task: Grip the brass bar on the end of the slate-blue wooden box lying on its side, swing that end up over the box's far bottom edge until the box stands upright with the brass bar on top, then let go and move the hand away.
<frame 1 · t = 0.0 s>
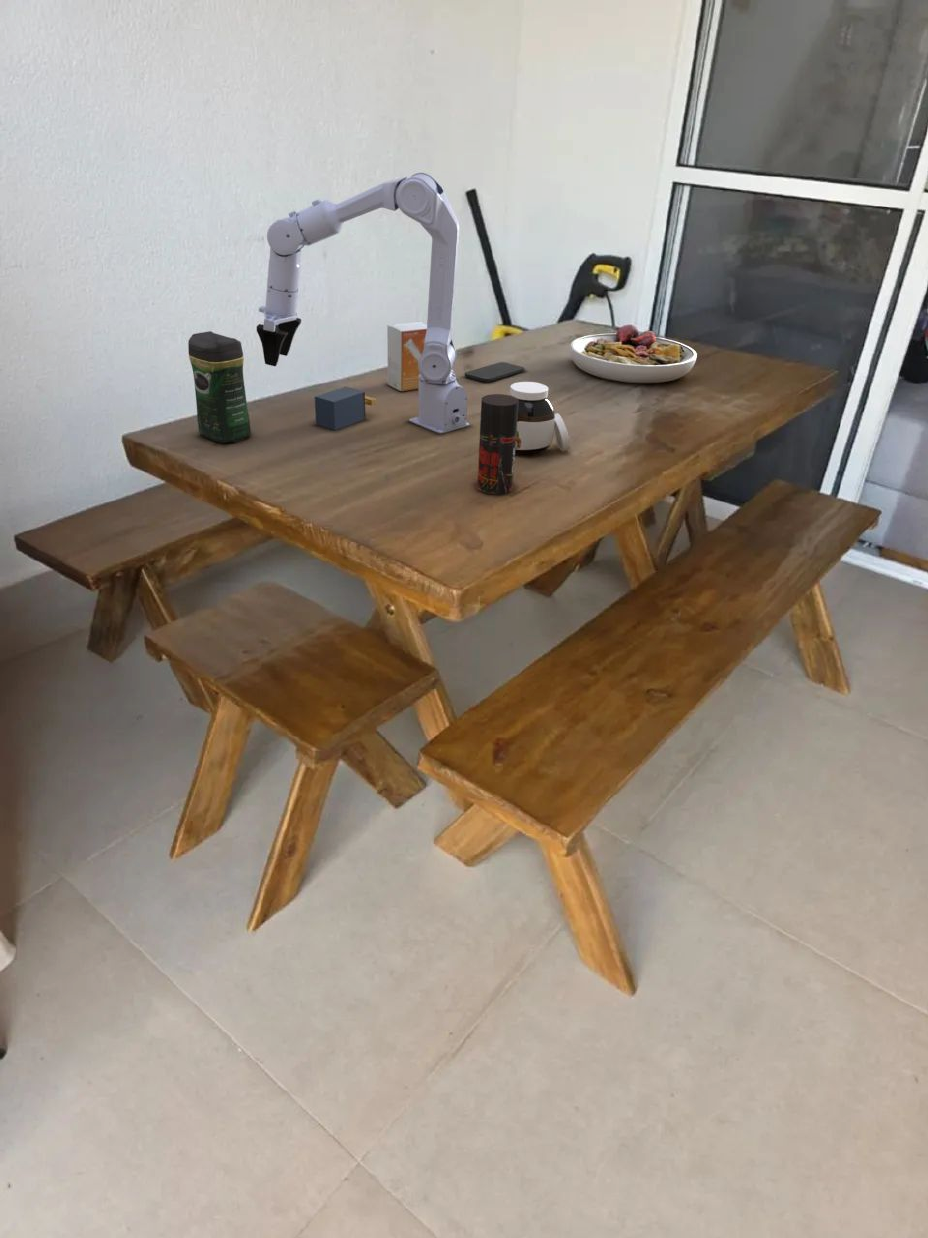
hand: (276, 359, 166), 11 cm above the table, tool pointing down, fingers open, 7 cm apart
spread jar: (535, 449, 160), on the table
box: (345, 406, 167), point 3 cm above the table, hinge at 0.0°
bowl: (630, 370, 208), on the table
small box: (409, 386, 190), on the table
deodorant: (494, 488, 143), on the table
coffee jar: (225, 436, 159), on the table
phone: (494, 374, 200), on the table
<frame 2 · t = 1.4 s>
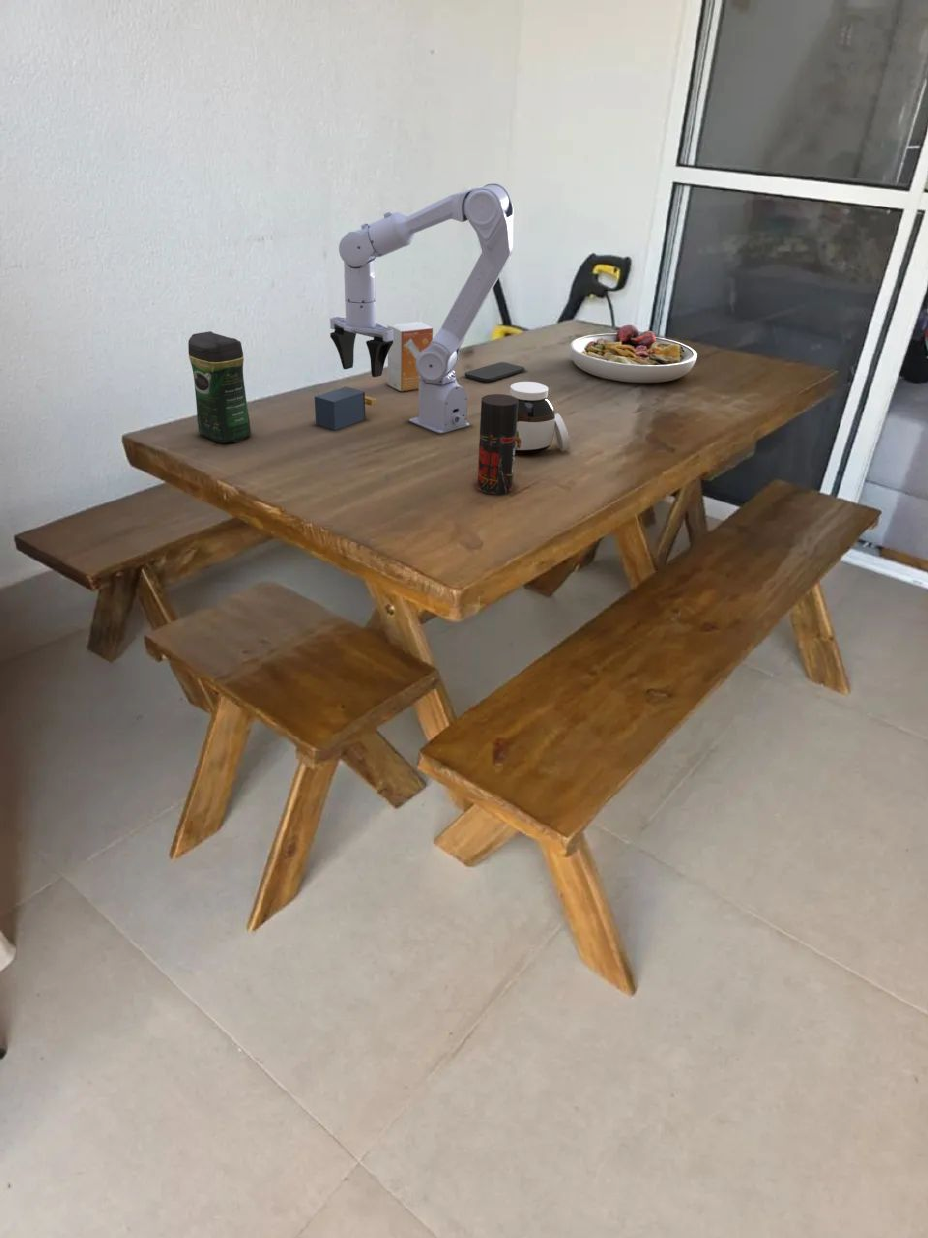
hand: (362, 371, 168), 9 cm above the table, tool pointing down, fingers open, 7 cm apart
nothing on the table moved.
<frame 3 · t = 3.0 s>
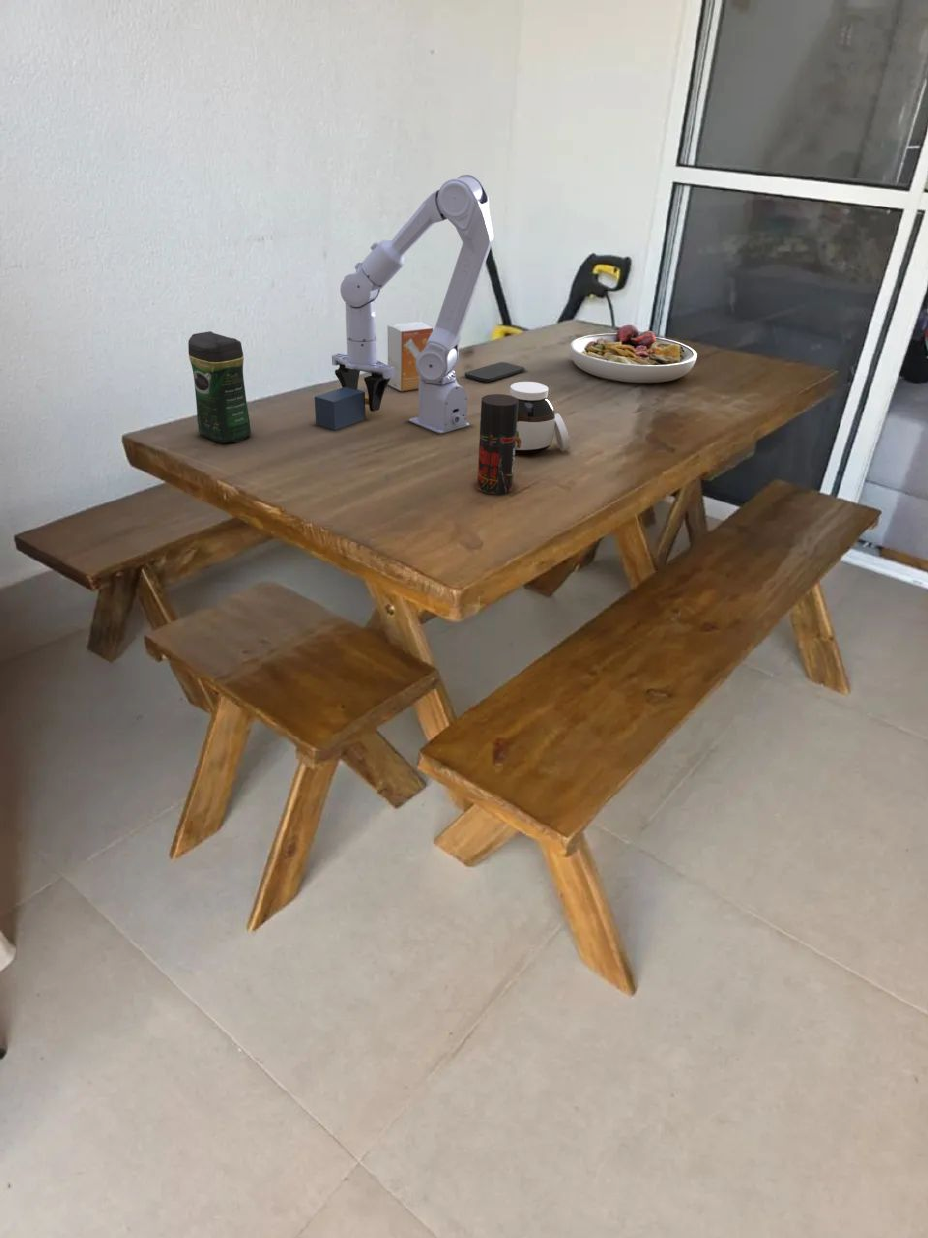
hand: (363, 407, 172), 2 cm above the table, tool pointing down, fingers closed on box, 5 cm apart
box: (345, 406, 167), point 3 cm above the table, hinge at 0.1°, touching gripper
everything else where it was.
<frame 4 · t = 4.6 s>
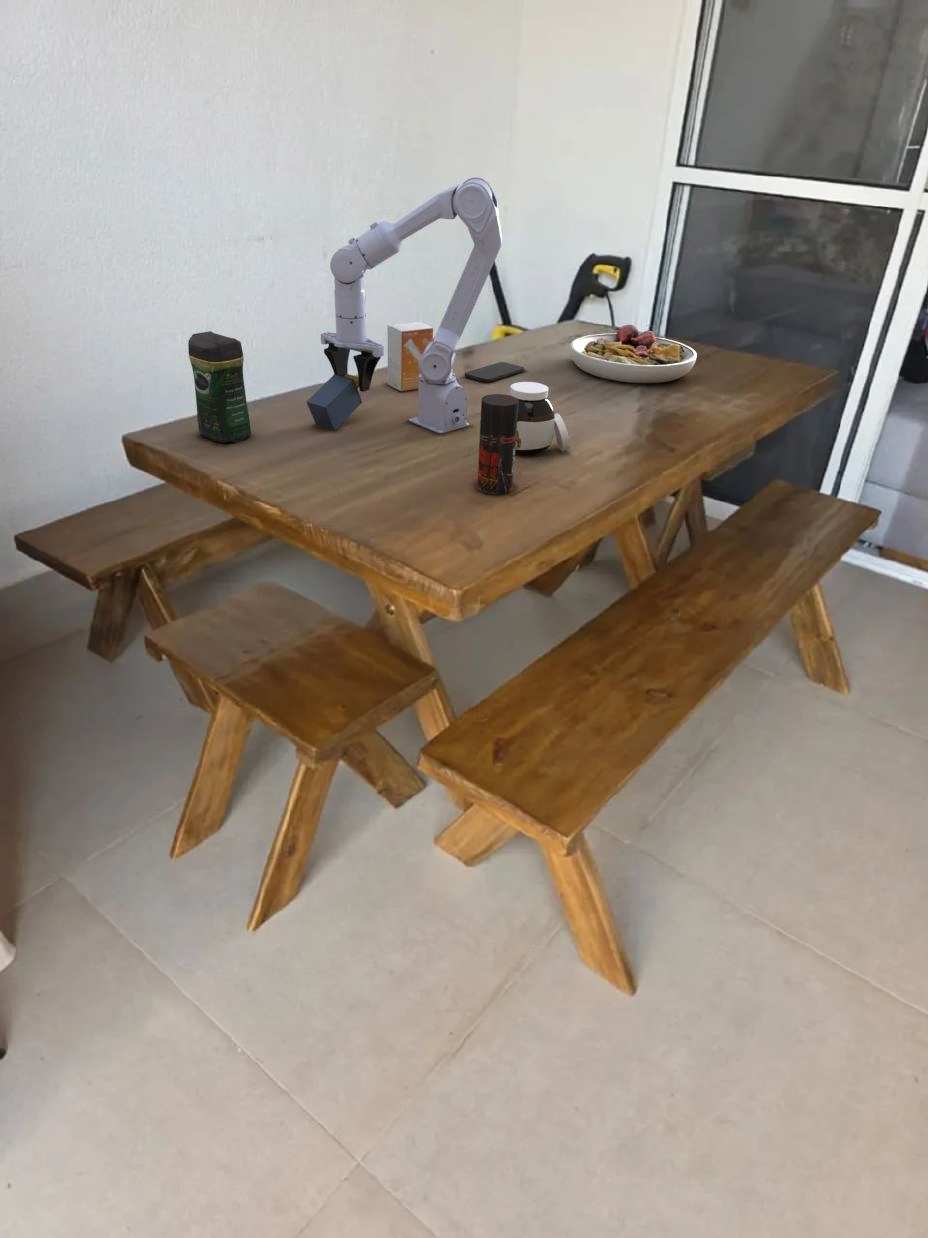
hand: (353, 387, 167), 6 cm above the table, tool pointing down, fingers closed on box, 5 cm apart
box: (339, 397, 165), point 5 cm above the table, hinge at 24.3°, touching gripper
everything else where it was.
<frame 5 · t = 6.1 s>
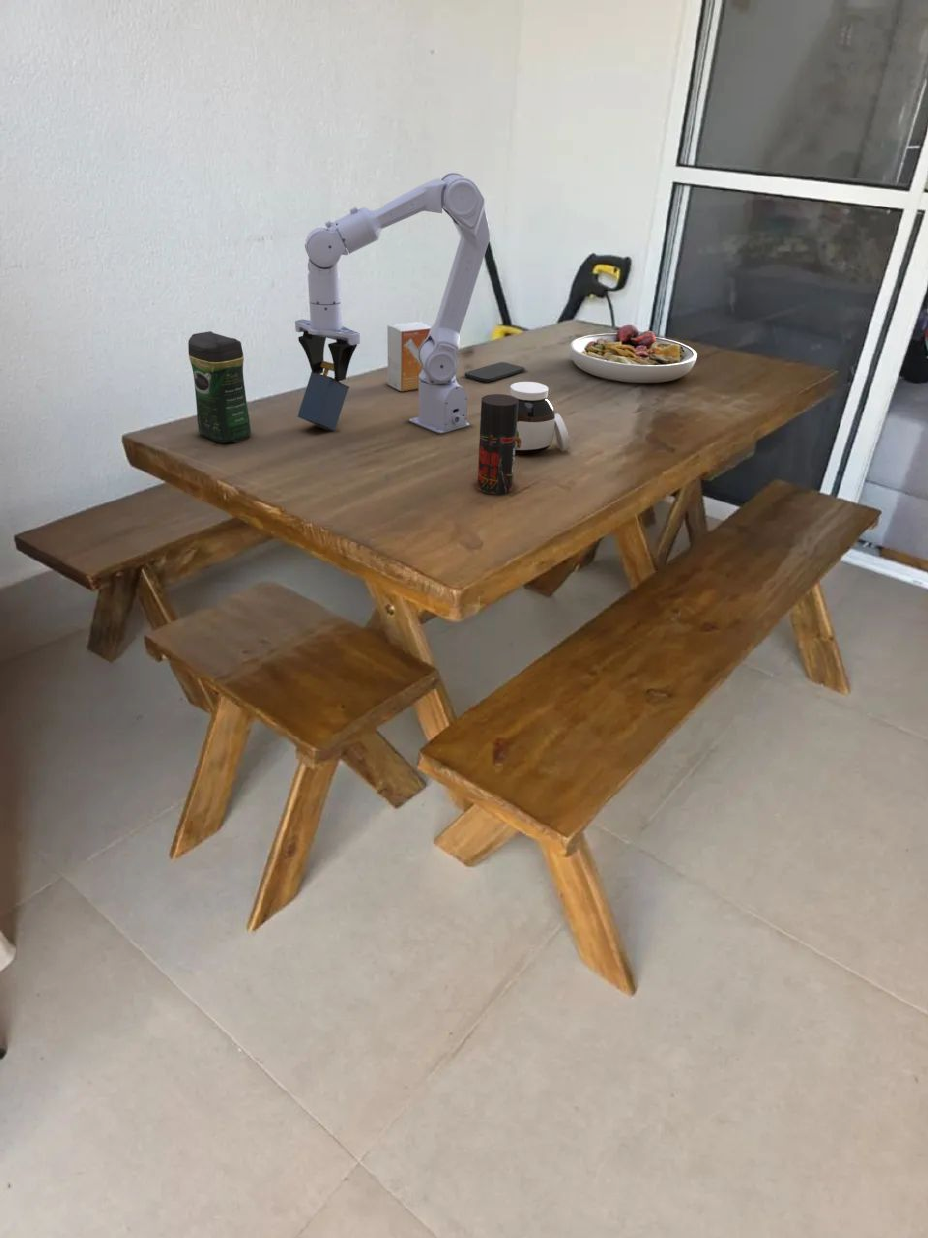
hand: (329, 376, 161), 10 cm above the table, tool pointing down, fingers closed on box, 5 cm apart
box: (325, 394, 162), point 7 cm above the table, hinge at 59.6°, touching gripper
everything else where it was.
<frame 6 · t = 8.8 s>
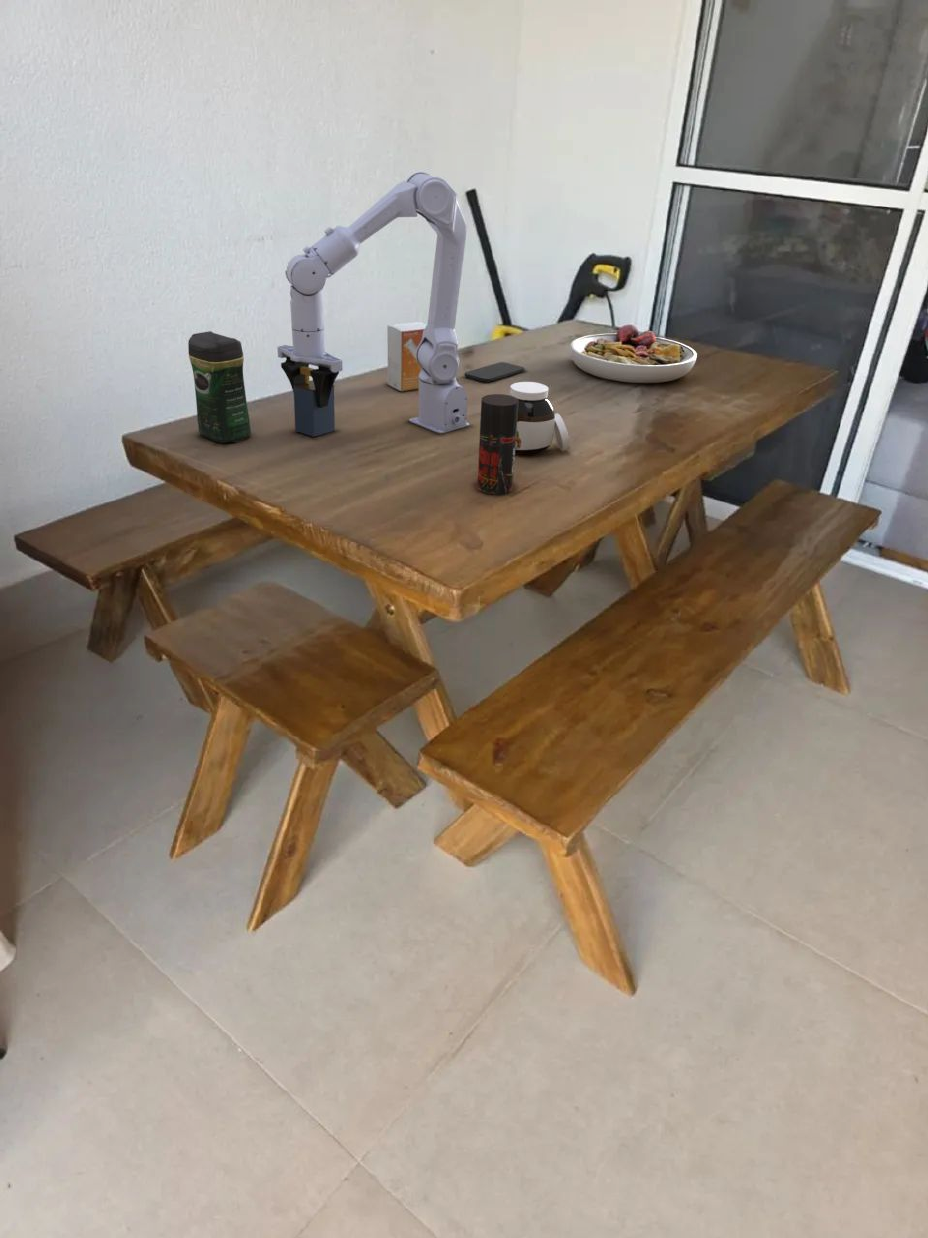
hand: (311, 402, 160), 6 cm above the table, tool pointing down, fingers closed on box, 5 cm apart
box: (314, 400, 160), point 6 cm above the table, hinge at 87.5°, touching gripper
everything else where it was.
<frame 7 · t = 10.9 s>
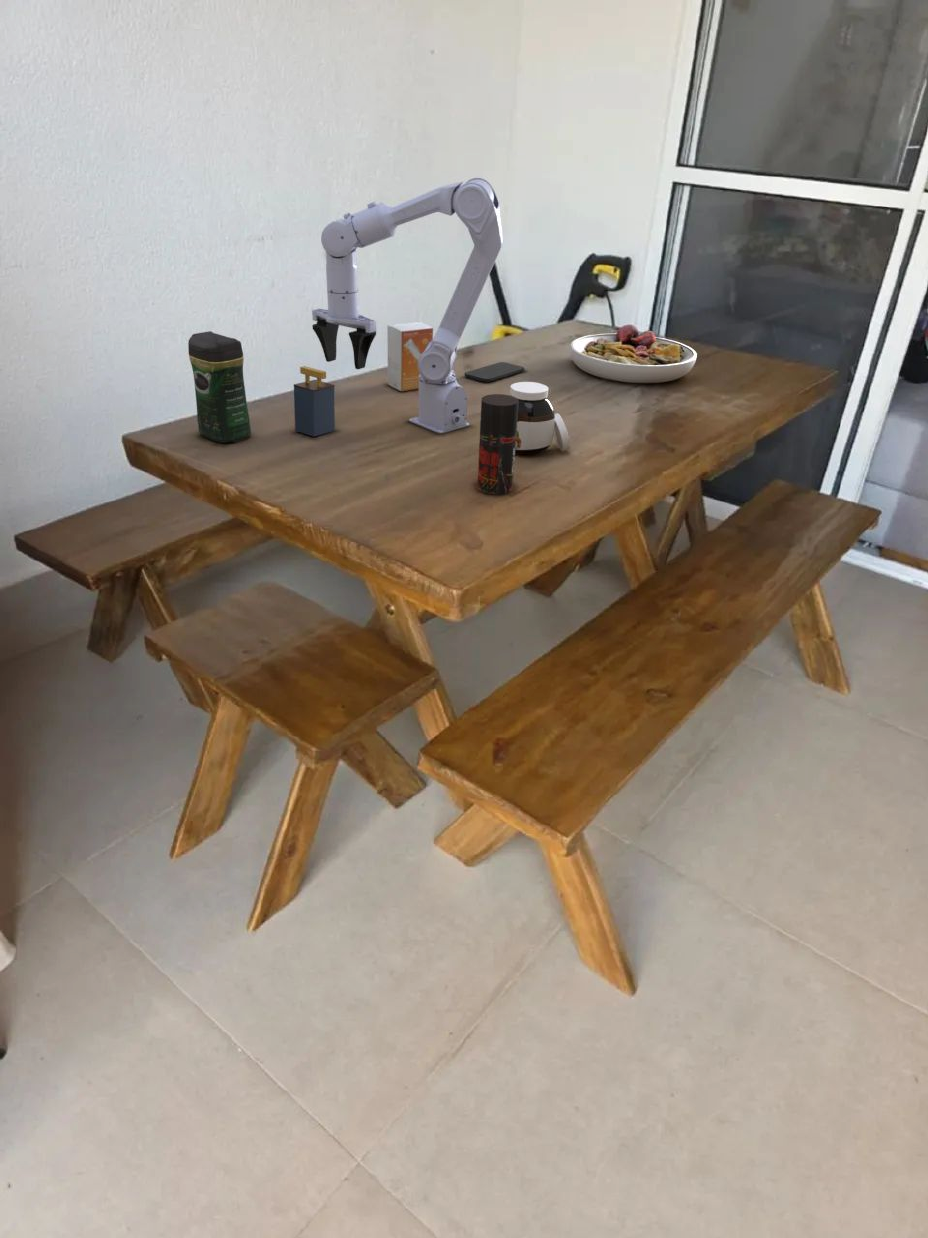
hand: (345, 364, 166), 10 cm above the table, tool pointing down, fingers open, 7 cm apart
box: (314, 400, 160), point 6 cm above the table, hinge at 87.1°
everything else where it was.
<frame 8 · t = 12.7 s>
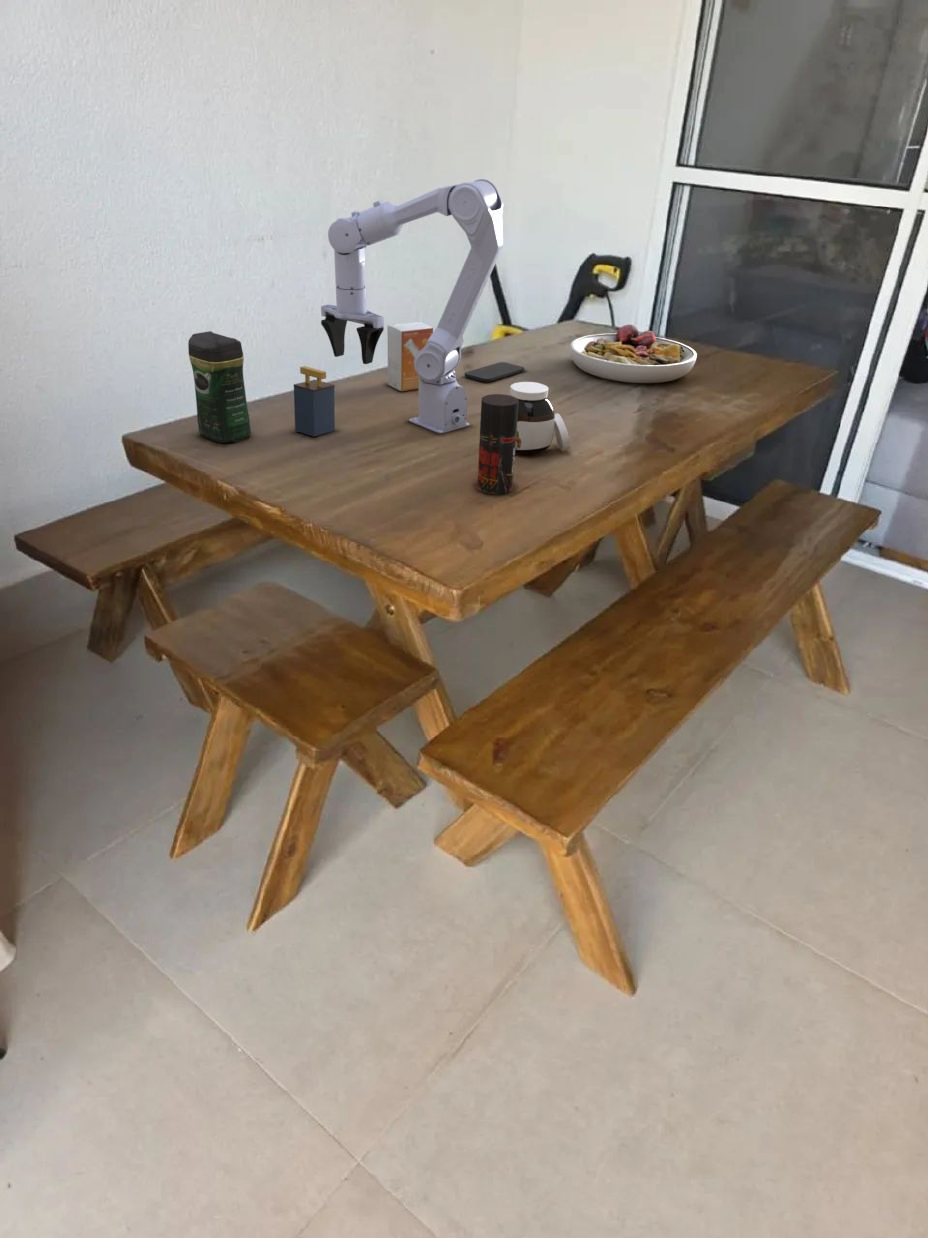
hand: (353, 359, 169), 10 cm above the table, tool pointing down, fingers open, 7 cm apart
nothing on the table moved.
at the end: box at +87° (first picture: +0°); the gripper is holding nothing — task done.
